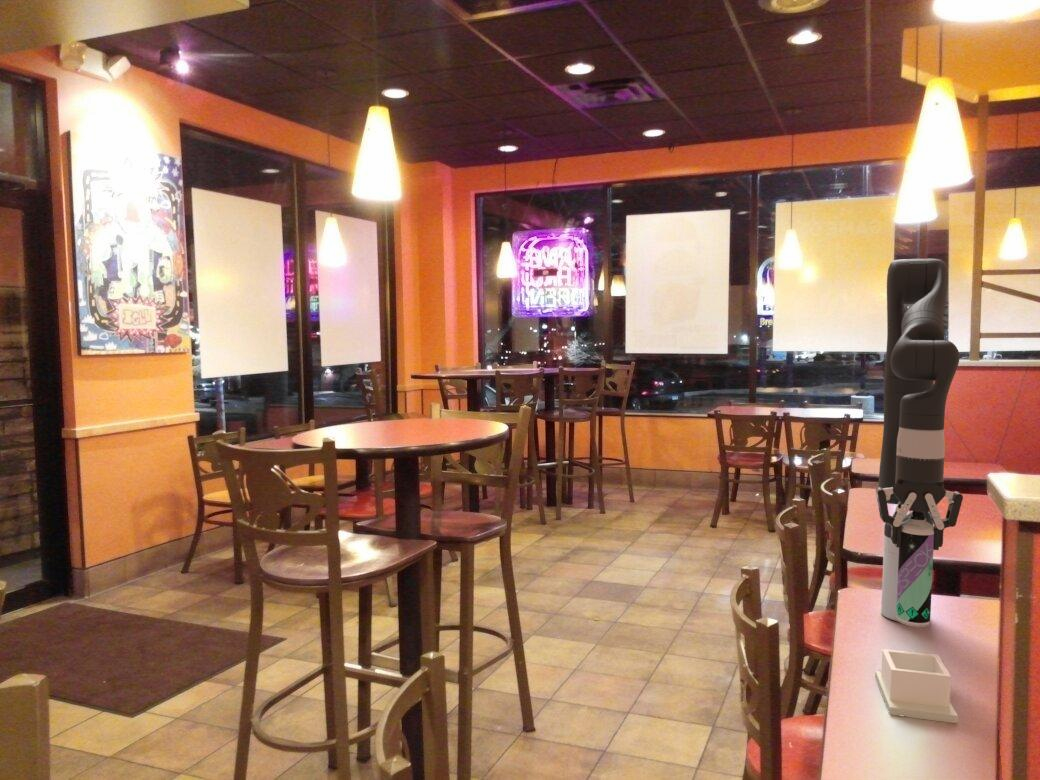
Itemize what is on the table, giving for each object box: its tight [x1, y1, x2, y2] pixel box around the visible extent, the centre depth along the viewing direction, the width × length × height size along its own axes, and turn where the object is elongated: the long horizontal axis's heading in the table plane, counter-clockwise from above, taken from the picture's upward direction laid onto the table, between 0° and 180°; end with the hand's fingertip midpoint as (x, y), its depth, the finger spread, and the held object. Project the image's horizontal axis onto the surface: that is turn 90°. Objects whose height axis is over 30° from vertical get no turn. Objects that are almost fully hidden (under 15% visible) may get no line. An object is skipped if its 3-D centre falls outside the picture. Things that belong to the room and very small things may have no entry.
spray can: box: [896, 511, 935, 628], centre depth 139 cm, size 6×6×20 cm
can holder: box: [874, 648, 958, 724], centre depth 128 cm, size 14×10×6 cm
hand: (916, 547), depth 139 cm, fingers closed on spray can, 5 cm apart
